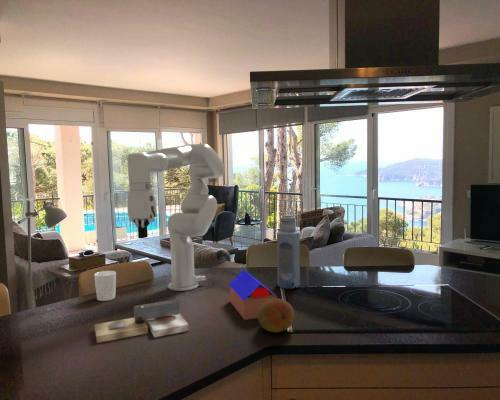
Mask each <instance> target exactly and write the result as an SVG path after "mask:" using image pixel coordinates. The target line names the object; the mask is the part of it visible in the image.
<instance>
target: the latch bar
mask: <svg viewBox="0 0 500 400" xmlns="http://www.w3.org/2000/svg"><path fill="white" fill-rule="evenodd" d="M179 310H180V308H179V301H178V300H177V299H171V300H166V301H165V300H164V301H158V302H151V303H145V304H143V303H142V304H138V305H134V306H133V314H134V315H133V316H134V317H133V318H134V320H135V323H143V322H145V320H148V319H154V318H160V317H166V316H172V315H179V314H180V311H179ZM145 323H146V322H145Z"/></svg>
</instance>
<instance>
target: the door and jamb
mask: <svg viewBox="0 0 500 400" xmlns="http://www.w3.org/2000/svg"><path fill="white" fill-rule="evenodd" d="M93 326H94V334H95V335H94V336H95V339H96V343H97V344H99V343H105V342H110V341H111V342H112V341H115V340H120V339H126V338H132V337H134V336H141V335H147V334H149V331H150V332H151V334H152V336H153V338H159V337H164V336H168V335H169V336H170V335H174V334H179V333H183V332H188V331H189V330H190V329H189V327H190V326H189V323H188V322H187V321H186V319H184V317H183V315H181V314H180V313H179V315H172V316H166V317H160V318H154V319H148V320H145V322H143V323H135V320H134V317H129V318H124V319H117V320H112V321H107V322H101V323H95V324H94V325H93Z"/></svg>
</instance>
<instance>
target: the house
mask: <svg viewBox="0 0 500 400" xmlns="http://www.w3.org/2000/svg"><path fill="white" fill-rule="evenodd" d="M228 286H229V302H230V303H231V304H232V306H233V307H234V309H235V310H236V311H237V312H238V314H239V315H240V317H242V318H243V320H244V321H245V320H246V321H247V320H253V319H258V313H259V309H260V307H261V306H262V304H263V303H265V302H266V301H268V300H270V299H275V298H278V295H276V294H275V293H274V292H272V290H270V289H269V288H268V287H267V286H265V285H264V284H263V283H262V282H261V281H259V280H258V279H256V278H255V277H254V276H253V275H251V274H250V273H248V272H247V271H246V270H245V269H243V270H241V271H240V273H238V275H237V276H235V277H234V279H233V280H232V281H231V282H230V283H228Z"/></svg>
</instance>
